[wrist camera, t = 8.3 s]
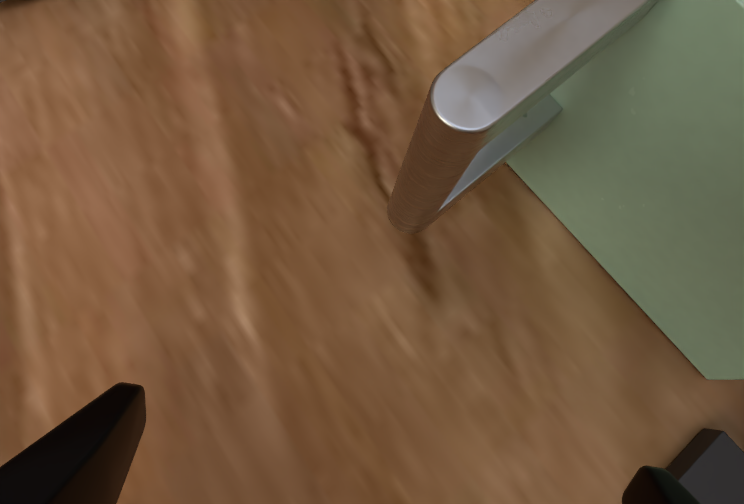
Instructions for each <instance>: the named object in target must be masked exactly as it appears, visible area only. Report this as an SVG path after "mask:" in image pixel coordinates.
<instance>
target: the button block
mask: <svg viewBox="0 0 744 504" xmlns="http://www.w3.org/2000/svg"><path fill="white" fill-rule="evenodd" d="M666 470H667V471H669V472H670V473H671V474H672V475H673V476H674V477H675V478H676V479H677V480H678V481H679V482H680V483H681V484H682V485H683V486H684V487H685V488H686V489H687V490H688V491H689V492H690V493H691V494H692V495H693V496H694V497H695V498H696V499H697V500H698V501H699V502H700V503H701V504H744V452H743V451H742V450H741V449H740V448H739V447H738V446H737V445H736V444H735V443H734V441H733V440H732V439H731V438H730V437H729V436H728V435H727V434H726V433H725V432H724V431H721V430H713V429H705V428H704V429H702V430H701V432H700V433H699V434H698V435H697V436H696V437H695V438H694V439H693V440H692V441H691V442H690V444H689V445H688V446H687V447H686V448H685V449H684V450H683V451H682V452H681V453H680V454H679V456H678V457H677V458H676V459H675V460H674V461H673V462H672V463H671V464H670V465H669V466H668V467H667V469H666Z"/></svg>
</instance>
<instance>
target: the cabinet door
mask: <svg viewBox="0 0 744 504" xmlns="http://www.w3.org/2000/svg"><path fill="white" fill-rule="evenodd" d="M505 162H506V163H507V164H508V165H509V166H510V167H511V168H512V169H513V170H514V171H515V172H516V174H517V175H518V176H519V177H520V178H521V179H522V180H523V181H524V182H525V183H526V184H527V185H528V186H529V188H530V189H531V190H532V191H533V192H534V193H535V194H536V195H537V196H538V197H539V198H540V199H541V201H542V202H543V203H544V204H545V205H546V206H547V207H548V208H549V209H550V210H551V211H552V212H553V214H554V215H555V216H556V217H557V218H558V219H559V220H560V221H561V222H562V223H563V224H564V225H565V227H566V228H567V229H568V230H569V231H570V232H571V233H572V234H573V235H574V236H575V237H576V238H577V239H578V241H579V242H580V243H581V244H582V245H583V246H584V247H585V248H586V249H587V250H588V251H589V252H590V254H591V255H592V256H593V257H594V258H595V259H596V260H597V261H598V262H599V263H600V264H601V265H602V267H603V268H604V269H605V270H606V271H607V272H608V273H609V274H610V275H611V276H612V277H613V278H614V280H615V281H616V282H617V283H618V284H619V285H620V286H621V287H622V288H623V289H624V290H625V291H626V293H627V294H628V295H629V296H630V297H631V298H632V299H633V300H634V301H635V302H636V303H637V304H638V305H639V307H640V308H641V309H642V310H643V311H644V312H645V313H646V314H647V315H648V316H649V317H650V318H651V320H652V321H653V322H654V323H655V324H656V325H657V326H658V327H659V328H660V329H661V330H662V331H663V333H664V334H665V335H666V336H667V337H668V338H669V339H670V340H671V341H672V342H673V343H674V344H675V346H676V347H677V348H678V349H679V350H680V351H681V352H682V353H683V354H684V355H685V356H686V357H687V358H688V360H689V361H690V362H691V363H692V364H693V365H694V366H695V367H696V368H697V369H698V370H699V371H700V373H701V374H702V375H703V376H704V377H705V378H706V379H707V380H744V0H535V1H534V2H532V3H531V4H530V5H528V6H527V7H526V8H524V9H523V10H522V11H520V12H519V13H518V14H516V15H515V16H514V17H512V18H511V19H510V20H508V21H507V22H506V23H504V24H503V25H502V26H500V27H499V28H498V29H496V30H495V31H494V32H492V33H491V34H490V35H488V36H487V37H486V38H484V39H483V40H482V41H480V42H479V43H478V44H476V45H475V46H474V47H472V48H471V49H470V50H469V51H467V52H466V53H465V54H463V55H462V56H461V57H459V58H458V59H457V60H455V61H454V62H453V63H451V64H450V65H449V66H447V67H446V68H445V69H444V70H442V71H441V72H440V73H439V74H438V75H437V76H436V77H435V79H434V80H433V82H432V84H431V87H430V90H429V93H428V95H427V98H426V101H425V104H424V106H423V109H422V112H421V115H420V117H419V120H418V123H417V126H416V128H415V131H414V134H413V137H412V139H411V142H410V145H409V148H408V150H407V153H406V156H405V159H404V161H403V164H402V167H401V170H400V172H399V175H398V178H397V181H396V183H395V186H394V189H393V192H392V194H391V197H390V200H389V203H388V206H387V215H388V218H389V220H390V222H391V223H392V225H393V226H394V227H395V228H396V229H398V230H399V231H402V232H404V233H418V232H421V231H422V230H424V229H425V228H427V227H428V226H429V225H430V224H432V223H433V222H434V221H435V220H436V219H438V218H439V217H440V216H441V215H442V214H444V213H445V212H446V211H447V210H448V209H450V208H451V207H452V206H453V205H454V204H456V203H457V202H458V201H459V200H461V199H462V198H463V197H464V196H465V195H467V194H468V193H469V192H470V191H471V190H473V189H474V188H475V187H476V186H477V185H479V184H480V183H481V182H482V181H483V180H485V179H486V178H487V177H488V176H489V175H491V174H492V173H493V172H494V171H496V170H497V169H498V168H499V167H500V166H502V165H503V164H504V163H505Z"/></svg>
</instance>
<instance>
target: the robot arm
mask: <svg viewBox="0 0 744 504" xmlns="http://www.w3.org/2000/svg"><path fill="white" fill-rule="evenodd" d="M145 423H146V407H145V392H144V388H143V387H142V386H141V385H137V384H131V383H124V382H121V383H118V384H116V385H114V386H113V387H111V388H110V389H108V390H107V391H106V392H104V393H103V394H101V395H100V396H99V397H97V398H96V399H94V400H93V401H92V402H90V403H89V404H87V405H86V406H85V407H83V408H82V409H81V410H79V411H78V412H76V413H75V414H74V415H72V416H71V417H69V418H68V419H67V420H65V421H64V422H62V423H61V424H60V425H58V426H57V427H55V428H54V429H53V430H51V431H50V432H48V433H47V434H46V435H44V436H43V437H41V438H40V439H39V440H37V441H36V442H34V443H33V444H32V445H30V446H29V447H28V448H26V449H25V450H23V451H22V452H21V453H19V454H18V455H16V456H15V457H14V458H12V459H11V460H9V461H8V462H7V463H5V464H4V465H2V466H1V467H0V504H116V503H117V500H118V498H119V495H120V492H121V490H122V487H123V484H124V482H125V479H126V476H127V474H128V471H129V468H130V466H131V463H132V460H133V458H134V455H135V452H136V450H137V447H138V444H139V442H140V439H141V436H142V434H143V431H144V427H145ZM622 504H701V503H700V502H699V501H698V500H697V499H696V498H695V497H694V496H693V495H692V494H691V493H690V492H689V491H688V490H687V489H686V488H685V487H684V486H683V485H682V484H681V483H680V482H679V481H678V480H677V479H676V478H675V477H674V476H673V475H672V474H671V473H670V472H669V471H667V470H665V469H663V468H658V467H652V466H643V467H641V468H639V470H638V471H637V473H636V474H635V476H634V477H633V479H632V480H631V482H630V483H629V485H628V486H627V488H626V489H625V491H624V493H623V497H622Z"/></svg>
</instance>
